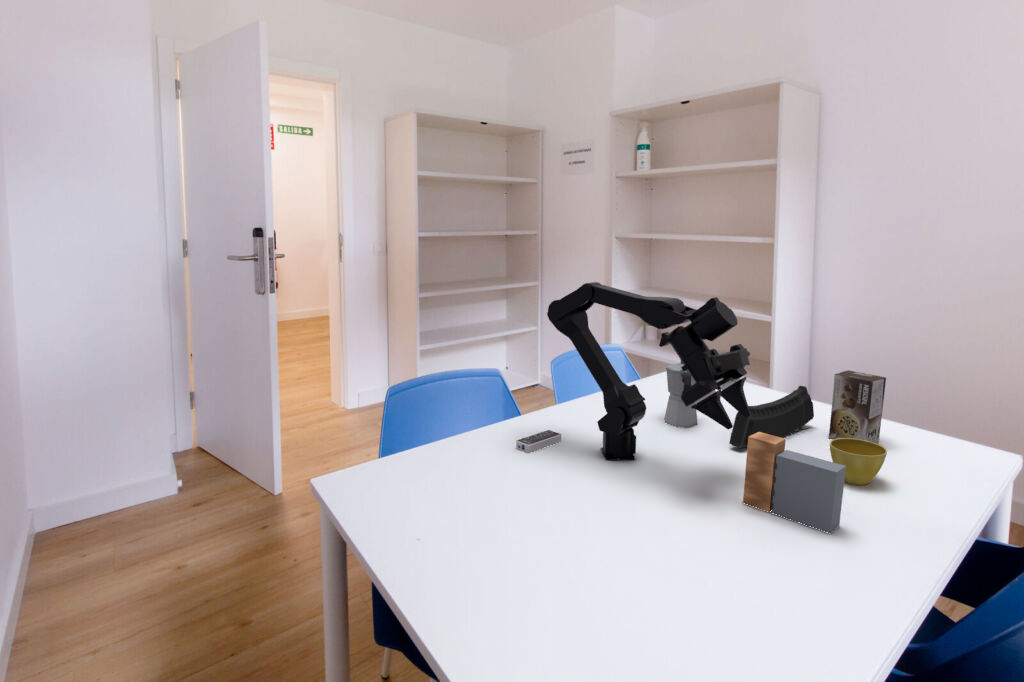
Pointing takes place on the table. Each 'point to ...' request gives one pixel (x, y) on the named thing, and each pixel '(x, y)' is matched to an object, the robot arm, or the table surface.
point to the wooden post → (761, 469)
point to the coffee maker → (679, 397)
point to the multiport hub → (538, 441)
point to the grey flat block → (808, 490)
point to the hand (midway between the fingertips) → (740, 422)
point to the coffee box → (857, 406)
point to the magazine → (774, 417)
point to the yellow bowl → (858, 458)
